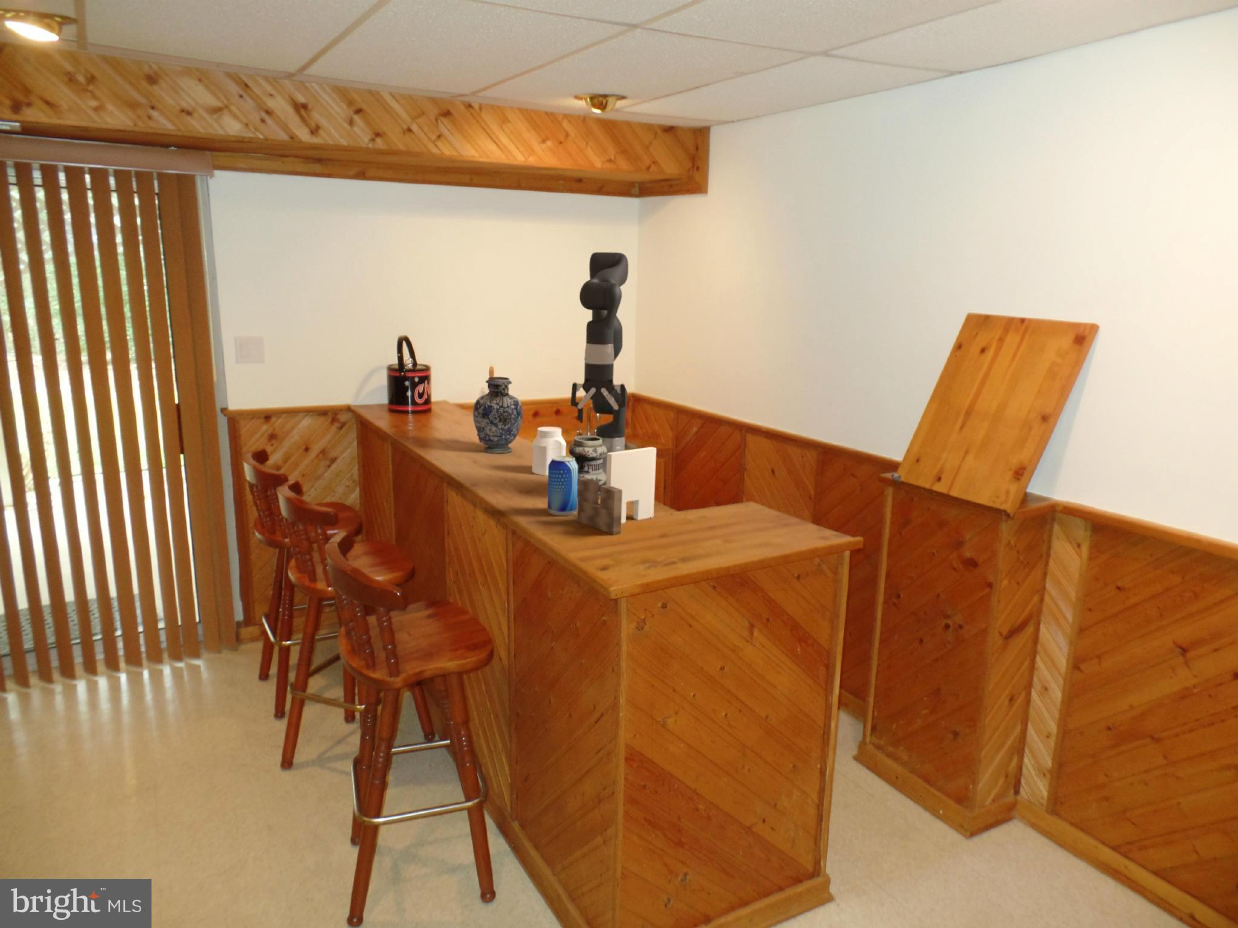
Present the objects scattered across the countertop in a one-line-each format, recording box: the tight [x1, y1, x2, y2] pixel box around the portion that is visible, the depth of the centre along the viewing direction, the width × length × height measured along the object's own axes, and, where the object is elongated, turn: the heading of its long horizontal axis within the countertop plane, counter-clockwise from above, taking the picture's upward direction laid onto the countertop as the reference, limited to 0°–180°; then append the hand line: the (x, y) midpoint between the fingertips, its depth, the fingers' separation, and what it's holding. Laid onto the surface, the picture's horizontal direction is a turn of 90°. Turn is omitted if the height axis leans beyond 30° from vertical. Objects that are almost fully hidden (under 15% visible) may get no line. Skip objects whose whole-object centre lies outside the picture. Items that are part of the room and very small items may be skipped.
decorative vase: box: [472, 376, 524, 455], centre depth 320 cm, size 21×19×28 cm
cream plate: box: [606, 446, 657, 524], centre depth 235 cm, size 16×2×20 cm, turn 129°
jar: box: [531, 426, 567, 476], centre depth 290 cm, size 12×10×15 cm
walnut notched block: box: [576, 477, 622, 536], centre depth 229 cm, size 16×2×12 cm, turn 39°
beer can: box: [547, 455, 578, 517], centre depth 242 cm, size 8×8×16 cm
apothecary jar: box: [568, 435, 607, 499], centre depth 261 cm, size 12×12×18 cm
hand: (597, 422), depth 223 cm, fingers open, 8 cm apart
